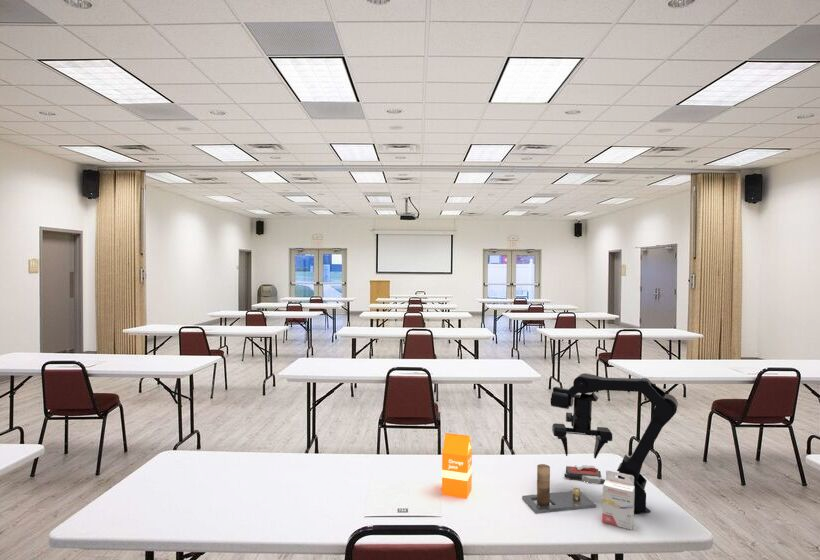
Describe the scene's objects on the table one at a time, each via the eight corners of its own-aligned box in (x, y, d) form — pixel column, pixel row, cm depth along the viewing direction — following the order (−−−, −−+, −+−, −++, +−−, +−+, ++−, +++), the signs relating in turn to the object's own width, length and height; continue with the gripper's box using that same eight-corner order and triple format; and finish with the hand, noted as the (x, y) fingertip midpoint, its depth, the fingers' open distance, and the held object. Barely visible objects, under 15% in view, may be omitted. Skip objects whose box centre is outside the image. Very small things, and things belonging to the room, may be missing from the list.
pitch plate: (596, 507, 156) (596, 495, 156) (535, 513, 152) (535, 500, 152) (579, 493, 166) (579, 481, 166) (522, 498, 162) (522, 486, 162)
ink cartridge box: (601, 522, 147) (602, 474, 146) (604, 515, 151) (604, 469, 151) (632, 530, 142) (633, 481, 142) (634, 523, 147) (635, 475, 146)
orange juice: (467, 498, 162) (467, 439, 161) (441, 494, 164) (441, 436, 164) (471, 488, 169) (472, 432, 169) (447, 485, 172) (447, 429, 171)
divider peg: (551, 506, 156) (552, 468, 156) (540, 508, 156) (540, 469, 155) (545, 501, 160) (546, 463, 160) (534, 502, 160) (535, 464, 159)
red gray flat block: (565, 482, 176) (624, 487, 171) (565, 470, 175) (624, 475, 171) (562, 472, 184) (618, 477, 180) (562, 461, 184) (618, 465, 180)
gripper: (606, 406, 170) (604, 450, 171) (551, 402, 173) (549, 445, 174) (613, 416, 159) (611, 463, 160) (555, 412, 162) (553, 457, 163)
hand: (580, 456), depth 165 cm, fingers open, 9 cm apart
